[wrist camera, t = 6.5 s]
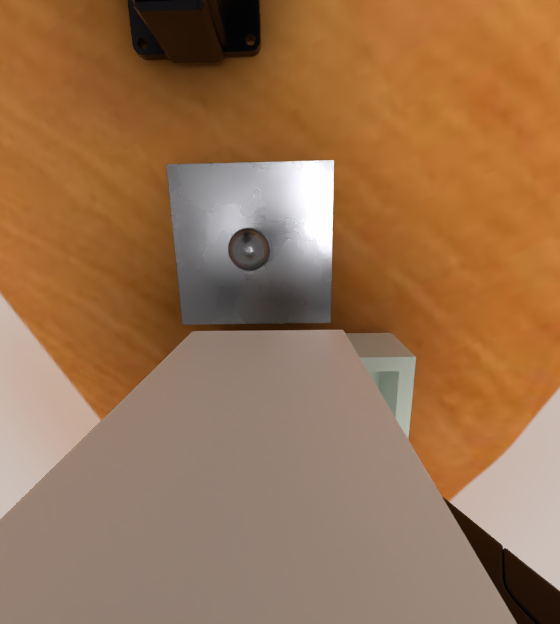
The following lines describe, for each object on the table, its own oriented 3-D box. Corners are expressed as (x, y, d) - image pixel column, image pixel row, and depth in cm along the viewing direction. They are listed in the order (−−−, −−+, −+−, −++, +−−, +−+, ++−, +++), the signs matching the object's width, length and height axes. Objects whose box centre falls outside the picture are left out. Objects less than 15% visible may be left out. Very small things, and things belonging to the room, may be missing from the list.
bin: (219, 334, 20) (203, 358, 16) (391, 332, 20) (416, 356, 16) (229, 477, 23) (217, 527, 19) (380, 477, 23) (400, 528, 19)
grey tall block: (203, 460, 12) (-53, 1136, 3) (192, 331, 10) (-286, 800, 2) (339, 461, 12) (500, 1172, 3) (343, 329, 10) (643, 836, 2)
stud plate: (172, 168, 18) (143, 151, 14) (331, 164, 18) (343, 146, 14) (187, 320, 20) (165, 340, 16) (328, 318, 20) (337, 338, 16)
